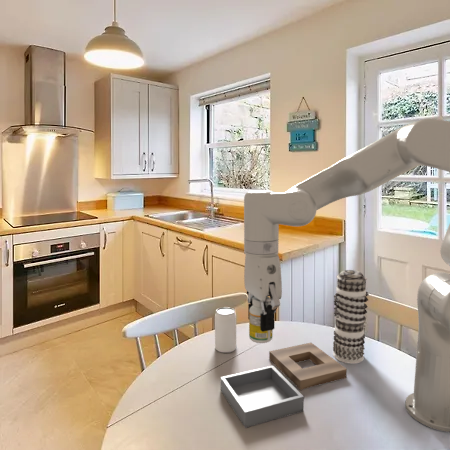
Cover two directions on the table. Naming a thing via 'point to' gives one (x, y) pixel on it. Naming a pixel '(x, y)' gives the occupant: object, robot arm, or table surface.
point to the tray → (261, 395)
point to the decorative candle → (350, 316)
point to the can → (225, 330)
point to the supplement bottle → (257, 323)
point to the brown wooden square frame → (308, 376)
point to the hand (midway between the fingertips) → (261, 323)
